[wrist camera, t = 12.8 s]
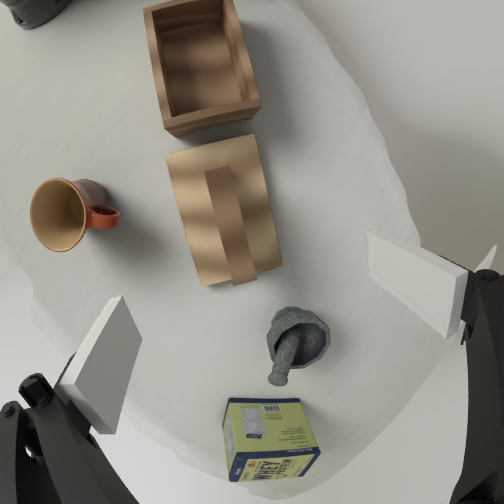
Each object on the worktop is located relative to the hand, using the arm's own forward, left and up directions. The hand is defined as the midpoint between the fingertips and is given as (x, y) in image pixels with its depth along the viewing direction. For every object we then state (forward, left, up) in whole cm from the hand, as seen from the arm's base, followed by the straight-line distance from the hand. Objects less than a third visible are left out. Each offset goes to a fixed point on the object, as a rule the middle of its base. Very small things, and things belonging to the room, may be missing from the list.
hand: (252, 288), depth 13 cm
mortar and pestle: (+21, +5, -27) cm, 34 cm away
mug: (-6, -18, -27) cm, 33 cm away
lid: (0, 0, -26) cm, 26 cm away
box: (-21, +1, -26) cm, 34 cm away
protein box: (+43, -4, -27) cm, 51 cm away
